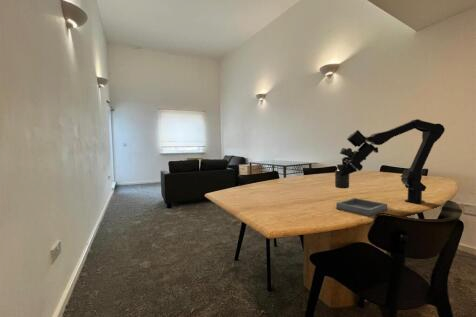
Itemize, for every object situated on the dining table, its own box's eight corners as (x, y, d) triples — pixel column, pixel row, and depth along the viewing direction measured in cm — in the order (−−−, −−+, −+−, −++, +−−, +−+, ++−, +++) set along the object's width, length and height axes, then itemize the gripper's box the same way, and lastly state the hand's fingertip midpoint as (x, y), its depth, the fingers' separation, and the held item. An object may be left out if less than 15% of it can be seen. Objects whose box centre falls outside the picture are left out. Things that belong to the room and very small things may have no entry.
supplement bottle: (350, 188, 123) (350, 165, 123) (336, 188, 125) (336, 165, 124) (347, 186, 130) (347, 163, 129) (333, 186, 131) (333, 164, 131)
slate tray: (354, 203, 120) (354, 198, 120) (387, 210, 108) (387, 204, 108) (336, 209, 112) (336, 202, 112) (369, 216, 99) (369, 210, 99)
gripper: (345, 142, 134) (324, 162, 137) (355, 142, 116) (331, 166, 119) (361, 156, 133) (339, 176, 136) (373, 158, 115) (348, 182, 118)
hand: (339, 174), depth 127 cm, fingers closed on supplement bottle, 7 cm apart
